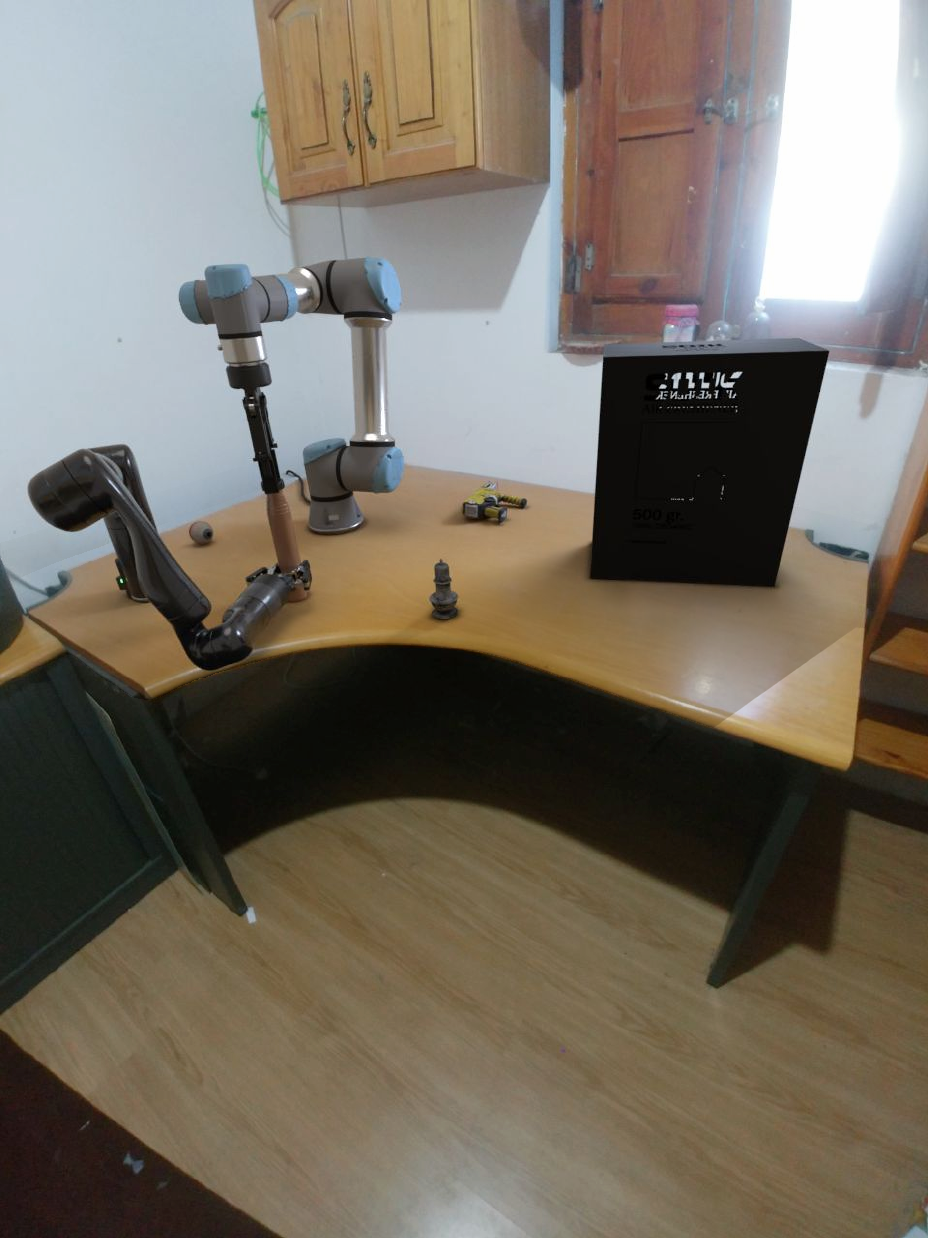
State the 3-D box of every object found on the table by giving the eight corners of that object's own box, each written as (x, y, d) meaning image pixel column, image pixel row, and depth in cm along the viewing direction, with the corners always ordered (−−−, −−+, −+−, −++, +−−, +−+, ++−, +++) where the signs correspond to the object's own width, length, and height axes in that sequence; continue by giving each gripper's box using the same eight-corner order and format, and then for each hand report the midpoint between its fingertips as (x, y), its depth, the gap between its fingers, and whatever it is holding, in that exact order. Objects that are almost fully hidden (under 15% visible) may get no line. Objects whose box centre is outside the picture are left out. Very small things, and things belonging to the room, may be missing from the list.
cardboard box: (755, 547, 142) (798, 337, 120) (774, 586, 125) (829, 350, 102) (592, 542, 150) (603, 344, 127) (589, 578, 133) (603, 356, 110)
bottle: (309, 598, 131) (286, 485, 119) (287, 603, 130) (262, 489, 117) (305, 590, 135) (282, 479, 123) (284, 594, 134) (259, 483, 121)
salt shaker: (456, 620, 119) (452, 565, 113) (427, 618, 121) (422, 564, 115) (462, 606, 124) (458, 552, 118) (434, 604, 126) (429, 551, 120)
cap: (287, 489, 119) (285, 481, 119) (264, 493, 118) (262, 485, 117) (282, 483, 123) (280, 476, 122) (259, 487, 121) (258, 480, 120)
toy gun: (534, 486, 180) (487, 479, 184) (513, 510, 160) (461, 501, 164) (533, 501, 182) (486, 494, 186) (512, 527, 162) (460, 518, 166)
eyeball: (202, 548, 159) (196, 527, 156) (187, 544, 162) (181, 523, 159) (221, 540, 163) (215, 519, 160) (206, 537, 166) (200, 516, 163)
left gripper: (293, 584, 114) (323, 548, 129) (223, 582, 116) (261, 547, 131) (300, 618, 118) (329, 579, 132) (232, 616, 120) (268, 578, 135)
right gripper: (231, 358, 116) (257, 475, 128) (217, 372, 100) (249, 505, 111) (271, 355, 118) (293, 471, 129) (264, 368, 101) (290, 500, 112)
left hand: (295, 563), depth 131 cm, fingers closed on bottle, 4 cm apart
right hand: (273, 487), depth 120 cm, fingers open, 7 cm apart
